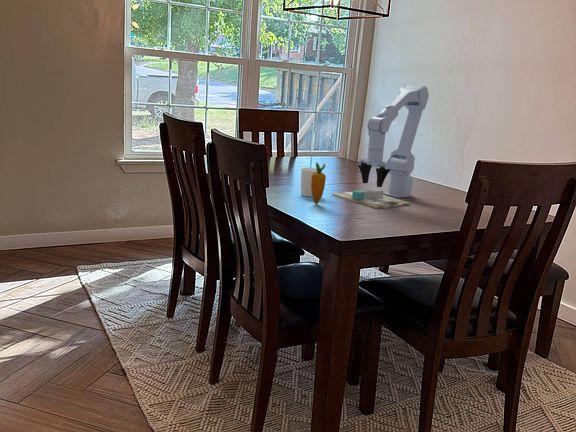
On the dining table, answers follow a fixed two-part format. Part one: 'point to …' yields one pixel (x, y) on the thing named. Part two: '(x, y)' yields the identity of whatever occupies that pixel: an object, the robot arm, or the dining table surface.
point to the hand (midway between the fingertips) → (372, 184)
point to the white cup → (307, 181)
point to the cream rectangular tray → (373, 201)
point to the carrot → (318, 183)
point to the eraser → (367, 194)
